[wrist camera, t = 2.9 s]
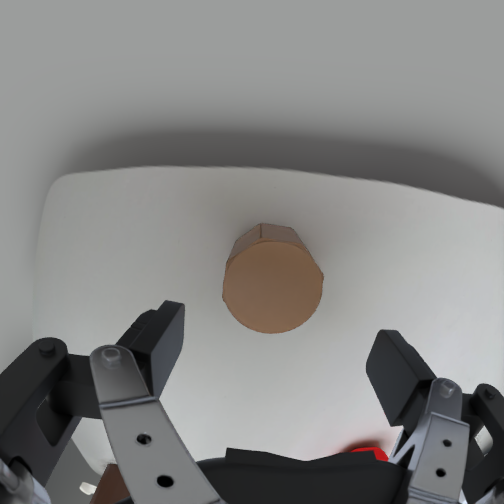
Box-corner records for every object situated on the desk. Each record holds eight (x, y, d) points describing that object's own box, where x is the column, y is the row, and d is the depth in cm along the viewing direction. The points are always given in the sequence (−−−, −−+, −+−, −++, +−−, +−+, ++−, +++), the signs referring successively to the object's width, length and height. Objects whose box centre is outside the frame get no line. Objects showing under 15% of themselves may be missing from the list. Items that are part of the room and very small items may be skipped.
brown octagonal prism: (228, 290, 22) (218, 326, 17) (238, 219, 21) (229, 234, 15) (299, 300, 22) (310, 338, 17) (313, 231, 21) (332, 250, 15)
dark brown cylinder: (111, 474, 33) (89, 525, 20) (103, 459, 32) (76, 515, 18) (144, 486, 33) (125, 541, 20) (139, 472, 32) (116, 533, 18)
